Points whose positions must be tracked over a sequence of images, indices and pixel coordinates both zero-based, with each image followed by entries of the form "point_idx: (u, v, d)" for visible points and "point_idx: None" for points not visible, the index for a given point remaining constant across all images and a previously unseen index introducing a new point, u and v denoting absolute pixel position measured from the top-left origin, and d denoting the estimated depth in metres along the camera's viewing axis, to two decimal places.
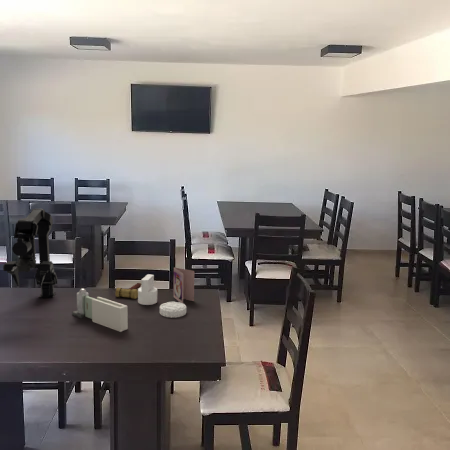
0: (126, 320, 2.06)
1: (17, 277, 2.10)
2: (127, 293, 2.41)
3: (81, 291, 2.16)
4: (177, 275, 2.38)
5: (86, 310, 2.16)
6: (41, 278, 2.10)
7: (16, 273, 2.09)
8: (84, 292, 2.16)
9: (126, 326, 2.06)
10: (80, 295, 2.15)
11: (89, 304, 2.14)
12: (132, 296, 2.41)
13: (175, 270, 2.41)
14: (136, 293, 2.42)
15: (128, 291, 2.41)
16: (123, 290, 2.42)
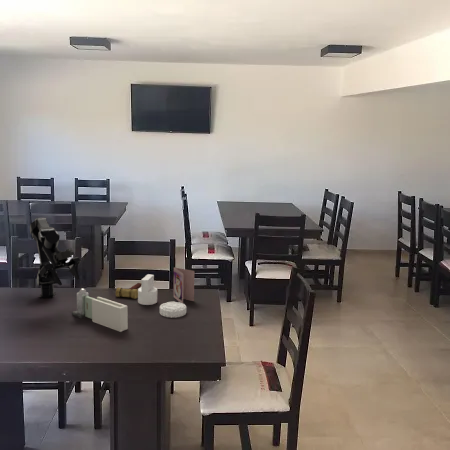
0: (126, 320, 2.06)
1: None
2: (127, 293, 2.41)
3: (81, 291, 2.16)
4: (177, 275, 2.38)
5: (86, 310, 2.16)
6: (77, 271, 2.25)
7: None
8: (84, 292, 2.16)
9: (126, 326, 2.06)
10: (80, 295, 2.15)
11: (89, 304, 2.14)
12: (132, 296, 2.41)
13: (175, 270, 2.41)
14: (136, 293, 2.42)
15: (128, 291, 2.42)
16: (123, 290, 2.42)
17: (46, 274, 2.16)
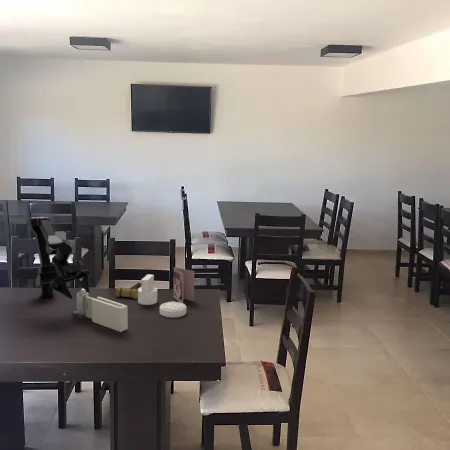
0: (126, 320, 2.06)
1: None
2: (127, 293, 2.41)
3: (81, 291, 2.16)
4: (177, 275, 2.38)
5: (86, 310, 2.16)
6: (87, 284, 2.23)
7: None
8: (84, 292, 2.16)
9: (126, 326, 2.06)
10: (80, 295, 2.15)
11: (89, 304, 2.14)
12: (132, 296, 2.41)
13: (175, 270, 2.41)
14: (137, 292, 2.43)
15: (128, 291, 2.42)
16: (123, 290, 2.42)
17: (56, 287, 2.13)
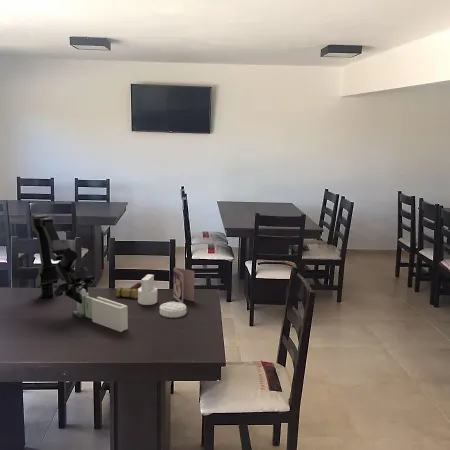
0: (126, 320, 2.06)
1: None
2: (127, 293, 2.42)
3: (81, 291, 2.16)
4: (177, 275, 2.38)
5: (86, 310, 2.16)
6: None
7: None
8: (84, 292, 2.16)
9: (126, 326, 2.06)
10: (80, 295, 2.15)
11: (89, 304, 2.14)
12: (132, 296, 2.41)
13: (175, 270, 2.41)
14: (137, 292, 2.43)
15: (128, 291, 2.42)
16: (123, 290, 2.43)
17: (66, 292, 2.15)
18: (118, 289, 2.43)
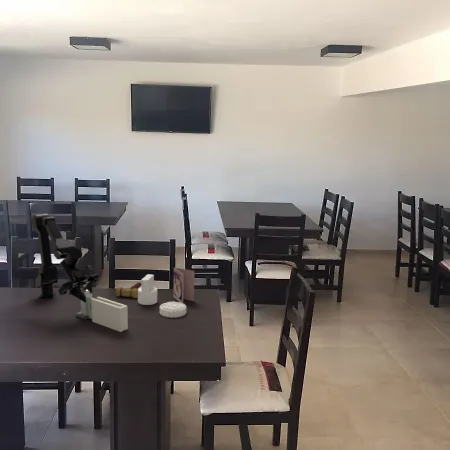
0: (126, 320, 2.06)
1: None
2: (128, 292, 2.42)
3: (85, 292, 2.14)
4: (177, 275, 2.38)
5: (89, 311, 2.15)
6: (91, 290, 2.18)
7: None
8: (88, 293, 2.15)
9: (126, 326, 2.06)
10: (84, 296, 2.14)
11: None
12: (133, 295, 2.41)
13: (175, 270, 2.41)
14: (137, 292, 2.43)
15: (129, 290, 2.42)
16: (124, 289, 2.43)
17: (70, 291, 2.13)
18: (118, 289, 2.43)
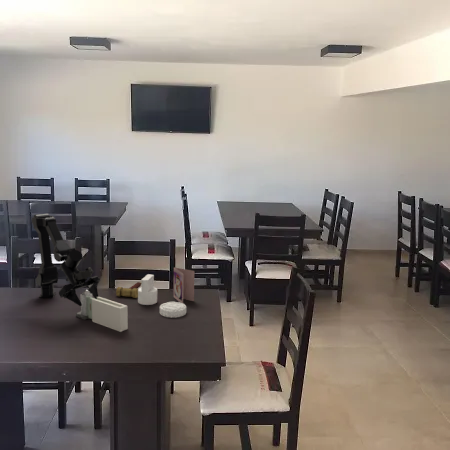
0: (126, 320, 2.06)
1: None
2: (128, 292, 2.42)
3: (85, 292, 2.14)
4: (177, 275, 2.38)
5: (89, 311, 2.15)
6: (96, 291, 2.20)
7: None
8: (88, 293, 2.15)
9: (126, 326, 2.06)
10: (84, 296, 2.14)
11: None
12: (133, 295, 2.42)
13: (175, 270, 2.41)
14: (137, 292, 2.43)
15: (129, 290, 2.43)
16: (124, 289, 2.43)
17: (66, 295, 2.11)
18: (118, 289, 2.43)
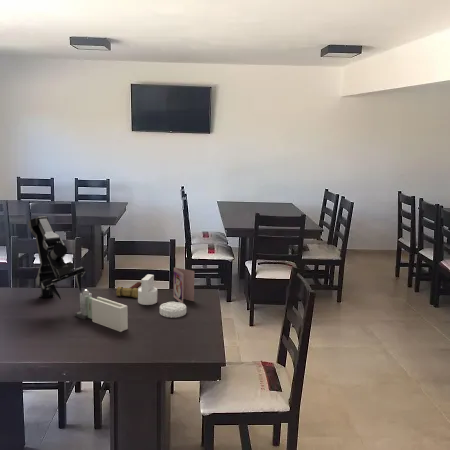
0: (126, 320, 2.06)
1: None
2: (128, 292, 2.43)
3: (84, 292, 2.15)
4: (177, 275, 2.38)
5: (89, 311, 2.15)
6: (79, 283, 2.23)
7: None
8: (87, 293, 2.15)
9: (126, 326, 2.06)
10: (83, 296, 2.14)
11: None
12: (133, 295, 2.42)
13: (175, 270, 2.41)
14: (137, 292, 2.44)
15: (129, 290, 2.43)
16: (124, 289, 2.44)
17: (46, 288, 2.19)
18: (118, 288, 2.44)
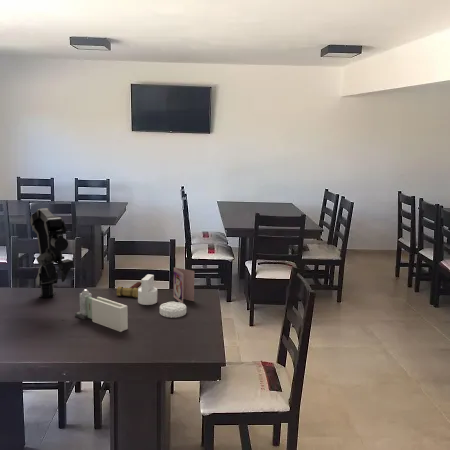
0: (126, 320, 2.06)
1: (49, 269, 2.27)
2: (128, 292, 2.43)
3: (84, 292, 2.15)
4: (177, 275, 2.38)
5: (88, 311, 2.16)
6: (61, 274, 2.21)
7: (48, 266, 2.27)
8: (87, 293, 2.15)
9: (126, 326, 2.06)
10: (83, 296, 2.14)
11: None
12: (133, 295, 2.42)
13: (175, 270, 2.41)
14: (137, 291, 2.44)
15: (129, 290, 2.43)
16: (124, 289, 2.44)
17: None
18: (119, 288, 2.44)
